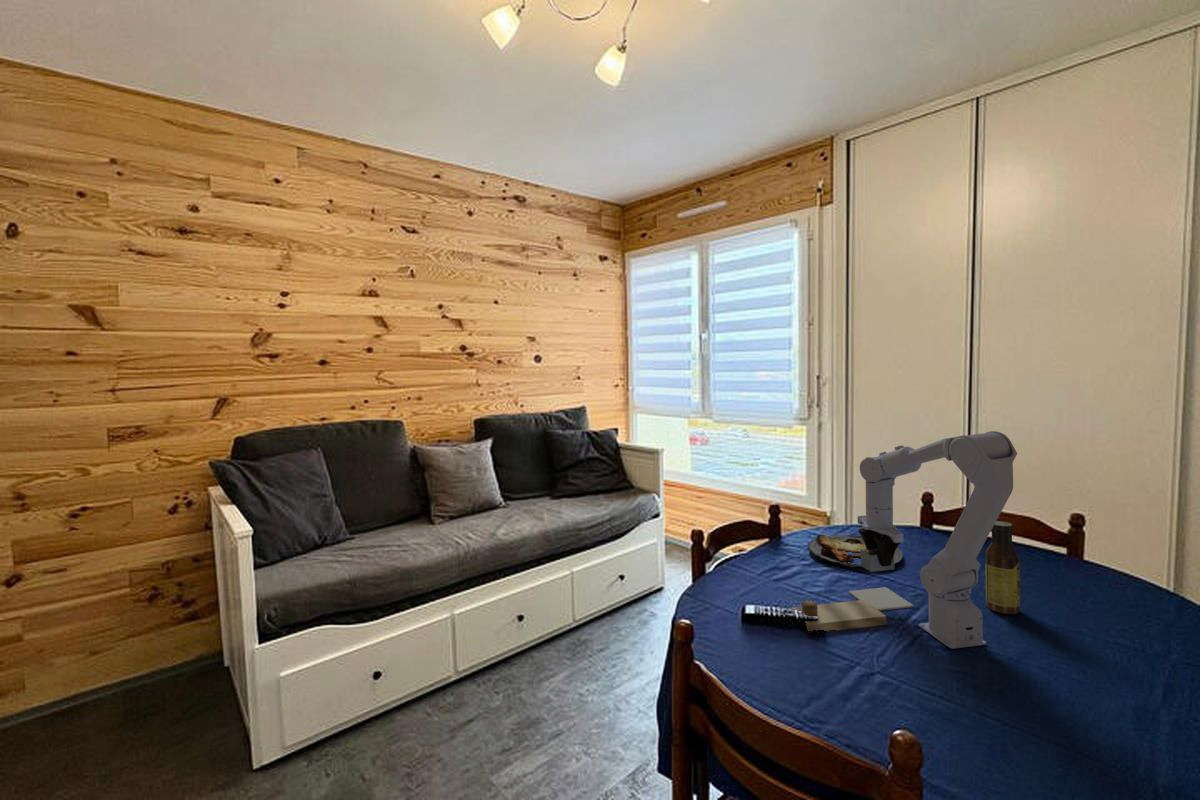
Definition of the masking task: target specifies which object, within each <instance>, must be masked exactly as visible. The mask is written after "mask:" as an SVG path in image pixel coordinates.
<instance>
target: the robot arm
mask: <svg viewBox="0 0 1200 800" xmlns="http://www.w3.org/2000/svg"><path fill="white" fill-rule="evenodd" d="M1017 455H1018V451H1016V448H1015V447H1014V444H1013V442H1012V441H1011V439H1010V438H1009V437H1008V436H1007V435H1006V434H1004V433H1002V432H1000V431H995V430H993V431H987V432H984V433H975V434H968V435H963V434H962V435H958V436H955V437H954V436H953V437H946V438H942V439H939V440H936V441H934V442H932V443H929V444H926V445H923V446H921V447H919V448H916V449H914V447H911V446H905V445H897V446H894V450H892V451H889V452H887V451H881V452H880V453H879V454H878V456H872V457H870V456H867V457H865V458H863V460H861V462H860V464H859V472H860V476H861V477H862V479H864V481H865V515H857V524H858V525H861V528H859V529H858V533H859V535H860V536H862V538H863V540H864V543H865V546H866V549H869V548H878V550H879V559H880V564H881V566H891V562H892V559H893V556H894V553H895V551H896V549H897V548H898V547H899V545H901V543H904V542H905V539H904V538H905V537H904V533H902V532H901V531H900V530H899V529H898V528H897V527H896V526H895V525H894V513H893V512H894V508H893V506H894V497H893V496H894V492H893V491H894V489H893V488H894V485H895V480H896V478H898V477H901V476H904V475H907V474H912V473H915V472H917V471H919V470H920V468H921V466H922V464H924V463H928V462H931V461H932V462H933V461H935V460H941V459H943V458H945V459H946V460H947V461H948V462H950V461H952V462H953V463H954V464H955V466H956V467H957V468H958V469H959V471H960V472H961V473H962V474H963V475H964V476H965V478H966V479H967V480H968V482H970V483H971V484H972V485H973V487H974V488H973V490H972V492H971V494H970V496H969V497H968V500H967V502H966V504H965V506H964V508H963V511H962V513H960V517H959V519H958V521H957V523H956V525H955V527H954V528H953V531H952V533H951V534H950V537H949V538H948V540H947V542H946V544H945V546H944V548H943V549H942V550H940V551H939V552H938V553H937V554H935V555H933V556H932V557H931V560H930V561H929V562H928V563H927V564H925V565H923V566H922V567H921V569H920V571H919V579H920V581H921V584H922V586H923V587H924V588H925V590H926V593H928V622H920V623H918V626H919V627H920V628H921V629H922V630H924V631H925V632H927V633H928V634H929V635H930V636H932V637H934V638H935V639H936V640H938V641H939V642H941V643H942V644H944V646H947V647H948V648H950V649H960V648H968V647H977V646H978V647H979V646H985V645H987V641H986V640H984V637H983V636H984V635H983V634H984V633H983V630H984V629H983V627H984V626H983V625H984V624H983V623H984V620H983V619H984V618H983V613H982V611H981V609H980V608H979V607H978V606H977V605H976V604H974V603H973V601H972V599H971V597H970V596H971V595H970V594H972V588H975V587H976V586H977V584H978V581H979V570H980V568H981V566H982V565H981V562H979V560H978V559H977V558H978V556H979V555H980V554H979V553H980V552H981V550H982V548H983V546H984V545H985V542H986V541H987V539H988V537H989V536H990V533H992V528H993V526H994V524H995V522H996V521H998V519H999V517H1000V514H1001V513H1002V511H1003V509H1004V508H1005V506H1006V503H1007V501H1008V500H1009V498H1010V496H1011V494H1012V493H1013V490H1014V466H1013V465H1014V464H1013V463H1014V460H1015V459H1016V457H1017Z"/></svg>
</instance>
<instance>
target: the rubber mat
mask: <svg viewBox="0 0 1200 800" xmlns="http://www.w3.org/2000/svg"><path fill="white" fill-rule="evenodd" d="M848 594H849V595H851V596H852V597H853V598H855V599H857V600H865V601H866V602H868V603H869V604H871V605H872V606H873V607H875V608H876V609H877V610H879V611H880V612H882V611H889V610H899V609H906V608H907V609H909V608H914V604H912V603H911V602H909V601H908V600H906V599H905V598H903V597H901V596H900V595H899V594H897V593H895V592H894V591H893V590H891V589H889V588H888V587H887V586H884V587H883V586H882V587H877V588H876V587H875V588H874V587H873V588H866V589H865V588H864V589H856V590H848Z"/></svg>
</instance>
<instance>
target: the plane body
mask: <svg viewBox="0 0 1200 800" xmlns="http://www.w3.org/2000/svg"><path fill="white" fill-rule="evenodd" d="M791 609H792V610H797V611H802V613H804V614H805V615H808V616H818V620H817V621H811V622H810V621H805V623H806V627H807V630H808V631H813V630H816V631H817V630H824V631H827V632H830V631H829V630H836V631H841V630H842V631H844V630H850V629H859V628H870V627H871V628H872V627H877V626H886V625H887V615H885V614H884V613H883V612H882V611H879V610H877V609H876V608H875V607H873V606H872V605H871V604H869V603H868V602H866V601H865V600H858V599H857V600H848V601H840V602H838V601H837V602H830V603H821V604H818V603H817V602H815V601H813V600H804V601H801V605H800V606H794V607H790V610H791ZM843 629H844V630H843Z"/></svg>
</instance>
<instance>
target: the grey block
mask: <svg viewBox="0 0 1200 800" xmlns="http://www.w3.org/2000/svg"><path fill="white" fill-rule="evenodd" d="M860 557H861V563H860V565H861V566H862V567H861V568H863V569H865V570H867V571H869V572H870V573H873V572H882V571H890V570H892V571H893V570H895V563H894V556H893V559H892V562H891V566H881V564H880V559H879V550H878V548H869V549H860Z"/></svg>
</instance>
